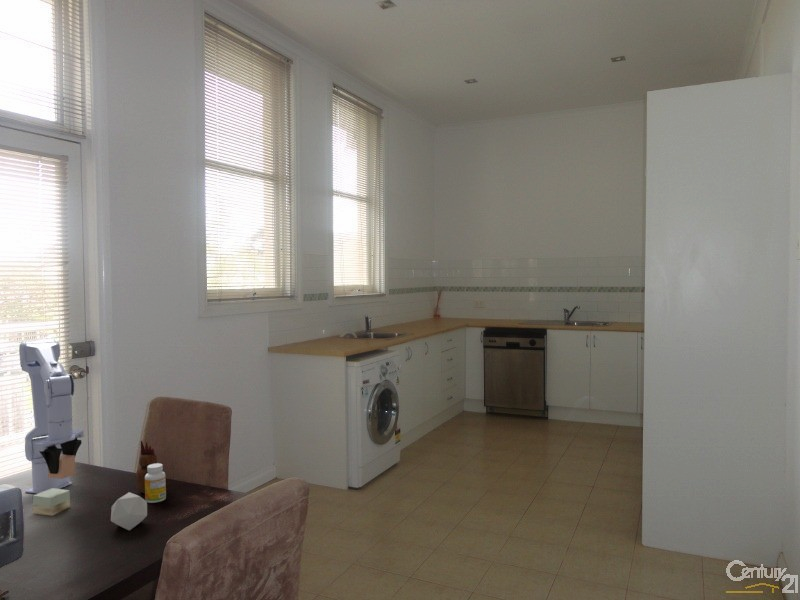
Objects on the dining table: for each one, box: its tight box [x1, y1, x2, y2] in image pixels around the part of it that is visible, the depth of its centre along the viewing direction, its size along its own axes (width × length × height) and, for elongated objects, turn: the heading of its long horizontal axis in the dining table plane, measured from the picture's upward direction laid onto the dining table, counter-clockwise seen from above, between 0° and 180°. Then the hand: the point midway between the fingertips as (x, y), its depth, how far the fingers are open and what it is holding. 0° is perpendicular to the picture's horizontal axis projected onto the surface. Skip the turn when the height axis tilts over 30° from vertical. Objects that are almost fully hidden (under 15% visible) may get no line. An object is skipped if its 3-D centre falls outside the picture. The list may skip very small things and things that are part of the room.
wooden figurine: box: [135, 440, 158, 494], centre depth 172 cm, size 7×6×15 cm
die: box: [110, 491, 148, 532], centre depth 149 cm, size 8×9×10 cm
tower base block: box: [32, 499, 71, 516], centre depth 159 cm, size 6×6×2 cm
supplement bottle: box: [144, 462, 167, 504], centre depth 166 cm, size 5×5×10 cm
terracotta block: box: [48, 454, 76, 479], centre depth 160 cm, size 4×4×5 cm
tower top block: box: [32, 488, 71, 507], centre depth 159 cm, size 6×6×2 cm
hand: (61, 470), depth 160 cm, fingers closed on terracotta block, 4 cm apart
